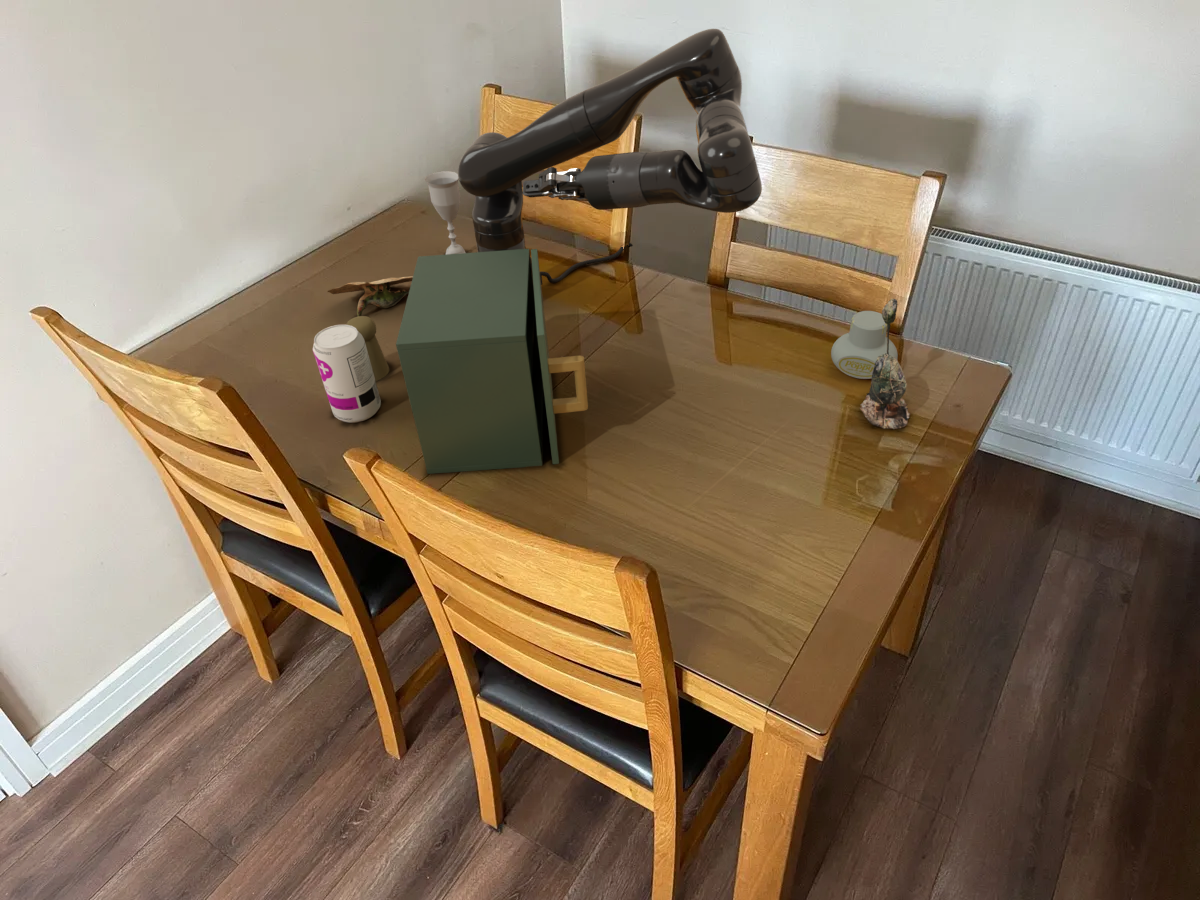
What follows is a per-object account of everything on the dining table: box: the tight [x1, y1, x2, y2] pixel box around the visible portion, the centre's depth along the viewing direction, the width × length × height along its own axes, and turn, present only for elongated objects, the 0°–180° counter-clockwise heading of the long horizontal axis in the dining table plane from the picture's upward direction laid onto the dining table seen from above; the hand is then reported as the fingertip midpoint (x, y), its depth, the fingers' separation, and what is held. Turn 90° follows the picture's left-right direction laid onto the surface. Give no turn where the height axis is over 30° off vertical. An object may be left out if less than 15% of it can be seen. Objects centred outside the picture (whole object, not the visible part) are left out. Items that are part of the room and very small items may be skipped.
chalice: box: [424, 170, 467, 255], centre depth 186 cm, size 7×7×18 cm
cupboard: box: [395, 248, 544, 475], centre depth 138 cm, size 18×26×24 cm
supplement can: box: [312, 324, 382, 423], centre depth 145 cm, size 8×8×15 cm
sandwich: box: [327, 275, 413, 317], centre depth 176 cm, size 18×14×8 cm
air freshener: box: [830, 310, 899, 380], centre depth 148 cm, size 11×8×10 cm
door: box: [530, 248, 589, 465], centre depth 138 cm, size 6×26×24 cm, turn 5°
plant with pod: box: [859, 298, 911, 430], centre depth 134 cm, size 8×11×20 cm
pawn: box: [345, 315, 390, 382], centre depth 155 cm, size 6×6×11 cm
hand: (526, 189), depth 133 cm, fingers closed
